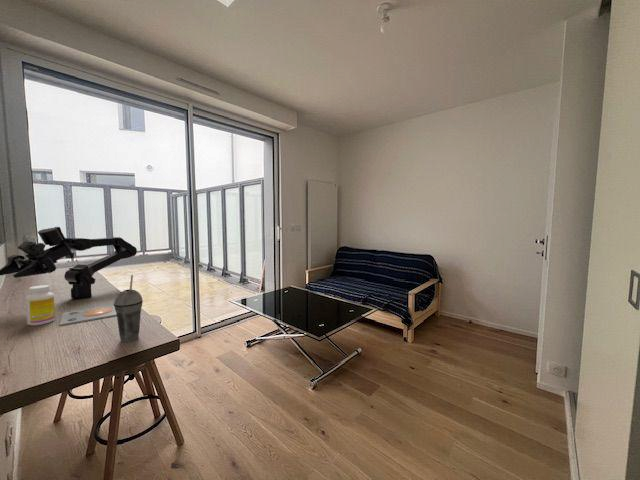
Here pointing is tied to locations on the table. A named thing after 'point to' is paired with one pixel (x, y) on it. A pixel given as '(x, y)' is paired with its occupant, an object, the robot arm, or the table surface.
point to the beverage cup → (128, 313)
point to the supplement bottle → (40, 305)
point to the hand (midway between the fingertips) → (4, 275)
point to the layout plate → (87, 315)
